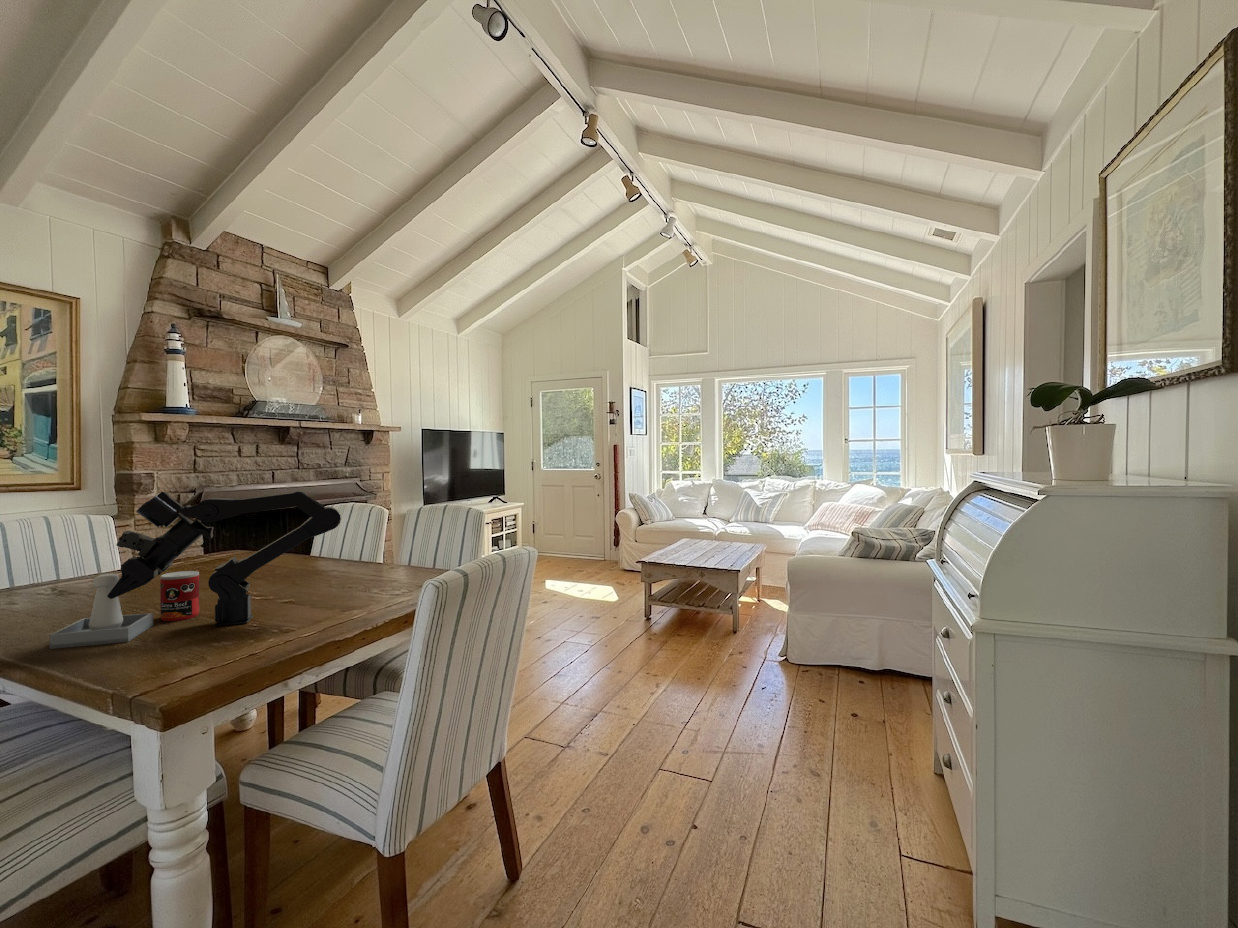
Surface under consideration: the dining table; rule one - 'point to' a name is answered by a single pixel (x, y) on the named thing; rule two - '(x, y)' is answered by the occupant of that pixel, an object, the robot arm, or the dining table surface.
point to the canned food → (179, 595)
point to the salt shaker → (105, 604)
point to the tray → (100, 632)
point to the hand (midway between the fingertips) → (115, 593)
